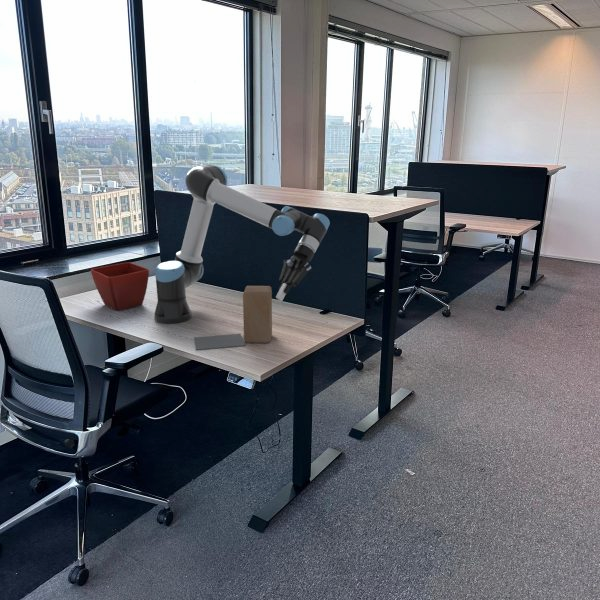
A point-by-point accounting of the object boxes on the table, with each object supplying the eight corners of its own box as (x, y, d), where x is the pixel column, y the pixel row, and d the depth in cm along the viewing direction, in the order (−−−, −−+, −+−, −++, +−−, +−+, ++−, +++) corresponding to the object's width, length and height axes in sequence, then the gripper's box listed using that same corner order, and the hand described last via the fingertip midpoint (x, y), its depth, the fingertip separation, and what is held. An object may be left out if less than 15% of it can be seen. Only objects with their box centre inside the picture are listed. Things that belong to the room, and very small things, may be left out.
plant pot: (113, 314, 229) (109, 277, 224) (93, 304, 242) (89, 268, 237) (152, 305, 242) (149, 269, 237) (132, 296, 255) (129, 262, 250)
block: (270, 343, 199) (269, 292, 193) (243, 343, 200) (242, 292, 193) (272, 334, 209) (271, 285, 203) (246, 333, 209) (245, 284, 203)
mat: (196, 350, 193) (196, 349, 193) (193, 338, 204) (193, 337, 204) (245, 345, 197) (245, 344, 197) (240, 334, 208) (240, 333, 208)
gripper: (323, 257, 208) (296, 307, 201) (297, 252, 216) (270, 301, 208) (315, 245, 202) (287, 297, 195) (289, 241, 210) (261, 291, 203)
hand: (278, 299), depth 202 cm, fingers closed
